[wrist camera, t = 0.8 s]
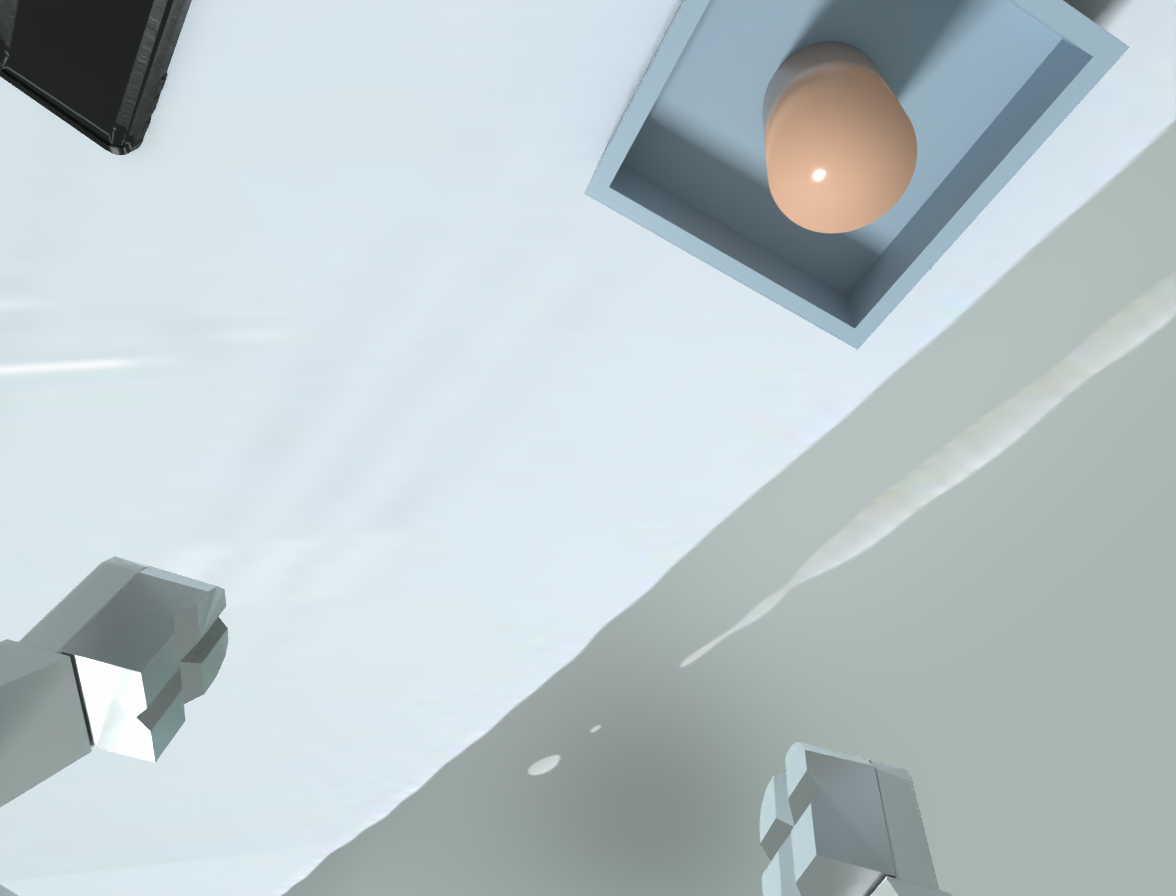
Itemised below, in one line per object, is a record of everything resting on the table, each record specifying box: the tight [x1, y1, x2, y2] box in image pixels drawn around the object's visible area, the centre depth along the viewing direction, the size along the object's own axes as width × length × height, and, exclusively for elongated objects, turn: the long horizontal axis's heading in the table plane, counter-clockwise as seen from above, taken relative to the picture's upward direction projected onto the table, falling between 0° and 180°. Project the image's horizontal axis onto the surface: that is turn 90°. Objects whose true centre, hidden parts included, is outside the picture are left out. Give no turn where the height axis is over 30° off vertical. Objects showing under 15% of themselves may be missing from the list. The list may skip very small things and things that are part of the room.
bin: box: [585, 0, 1129, 349], centre depth 32 cm, size 15×15×4 cm
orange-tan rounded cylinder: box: [762, 41, 917, 233], centre depth 30 cm, size 5×5×8 cm
